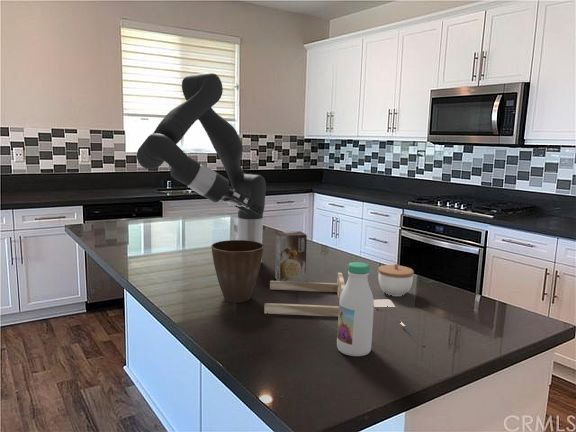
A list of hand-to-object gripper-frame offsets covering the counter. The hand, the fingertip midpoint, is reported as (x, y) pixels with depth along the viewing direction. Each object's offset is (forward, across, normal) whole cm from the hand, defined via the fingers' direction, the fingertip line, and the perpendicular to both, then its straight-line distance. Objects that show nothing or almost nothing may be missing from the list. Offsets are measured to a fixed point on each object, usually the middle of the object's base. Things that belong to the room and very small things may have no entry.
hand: (255, 211), depth 134 cm
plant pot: (+8, +2, +25) cm, 26 cm away
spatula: (+39, -30, +12) cm, 51 cm away
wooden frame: (+24, -7, +17) cm, 30 cm away
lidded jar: (+50, -12, +2) cm, 51 cm away
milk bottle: (+22, -39, +23) cm, 50 cm away
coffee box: (+27, +12, +12) cm, 32 cm away
